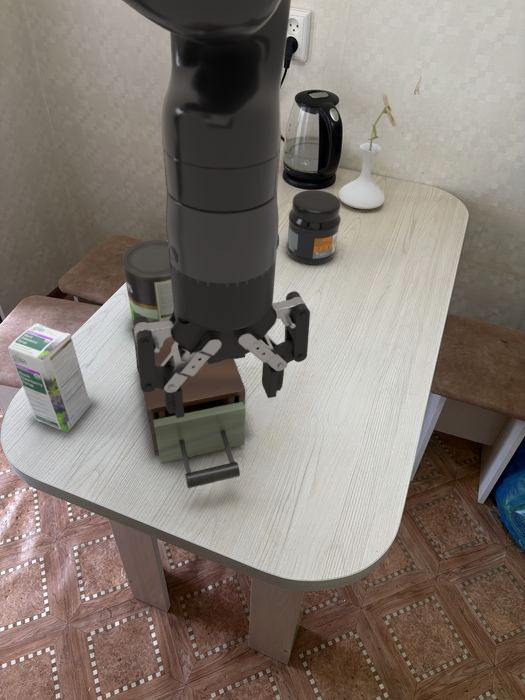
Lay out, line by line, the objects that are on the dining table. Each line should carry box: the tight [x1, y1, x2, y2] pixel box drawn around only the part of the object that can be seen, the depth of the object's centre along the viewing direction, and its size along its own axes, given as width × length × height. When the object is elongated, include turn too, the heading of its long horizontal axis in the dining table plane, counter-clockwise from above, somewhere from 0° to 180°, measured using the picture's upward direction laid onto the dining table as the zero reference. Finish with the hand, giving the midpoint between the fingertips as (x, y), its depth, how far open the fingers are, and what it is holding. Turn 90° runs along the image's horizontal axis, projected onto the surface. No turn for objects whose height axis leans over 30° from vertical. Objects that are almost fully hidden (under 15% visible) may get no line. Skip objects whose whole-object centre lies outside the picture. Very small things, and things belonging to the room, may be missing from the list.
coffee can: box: [120, 239, 174, 323], centre depth 84 cm, size 10×10×14 cm
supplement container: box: [286, 189, 342, 265], centre depth 104 cm, size 10×10×12 cm
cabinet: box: [131, 328, 247, 456], centre depth 73 cm, size 16×13×10 cm
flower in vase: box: [338, 90, 397, 210], centre depth 118 cm, size 13×11×25 cm
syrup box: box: [7, 322, 91, 433], centre depth 69 cm, size 6×6×14 cm
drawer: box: [153, 397, 246, 489], centre depth 69 cm, size 22×12×8 cm, turn 17°
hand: (224, 400), depth 46 cm, fingers open, 8 cm apart
